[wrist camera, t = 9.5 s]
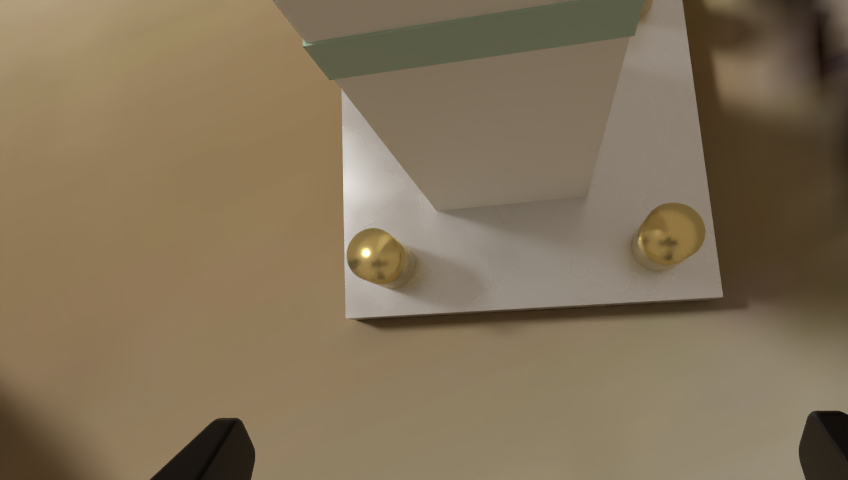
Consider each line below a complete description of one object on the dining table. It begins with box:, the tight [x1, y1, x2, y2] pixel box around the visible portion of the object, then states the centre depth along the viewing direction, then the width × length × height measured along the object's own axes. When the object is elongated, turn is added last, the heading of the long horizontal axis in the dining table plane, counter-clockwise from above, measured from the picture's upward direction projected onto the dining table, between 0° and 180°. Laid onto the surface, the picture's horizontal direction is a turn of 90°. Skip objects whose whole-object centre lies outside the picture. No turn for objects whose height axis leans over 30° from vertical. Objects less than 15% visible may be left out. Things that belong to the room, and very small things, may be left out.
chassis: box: [342, 0, 723, 320], centre depth 20 cm, size 12×12×4 cm
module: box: [273, 0, 644, 211], centre depth 14 cm, size 5×5×13 cm
